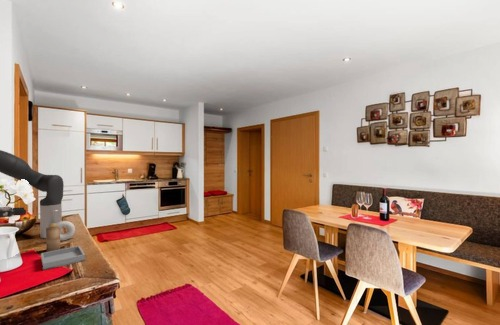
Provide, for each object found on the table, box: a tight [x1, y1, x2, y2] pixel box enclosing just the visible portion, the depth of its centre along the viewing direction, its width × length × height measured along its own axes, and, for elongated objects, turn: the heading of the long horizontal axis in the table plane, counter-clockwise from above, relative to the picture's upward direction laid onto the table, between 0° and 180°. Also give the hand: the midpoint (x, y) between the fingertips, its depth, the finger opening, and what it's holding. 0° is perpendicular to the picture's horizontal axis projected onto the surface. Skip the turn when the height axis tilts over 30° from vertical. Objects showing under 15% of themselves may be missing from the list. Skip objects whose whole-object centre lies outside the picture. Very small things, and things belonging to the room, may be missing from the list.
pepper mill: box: [45, 223, 61, 252], centre depth 116 cm, size 5×5×12 cm
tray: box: [40, 245, 86, 271], centre depth 104 cm, size 14×13×2 cm
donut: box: [57, 220, 76, 242], centre depth 129 cm, size 10×4×10 cm, turn 130°
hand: (24, 211), depth 109 cm, fingers open, 8 cm apart
